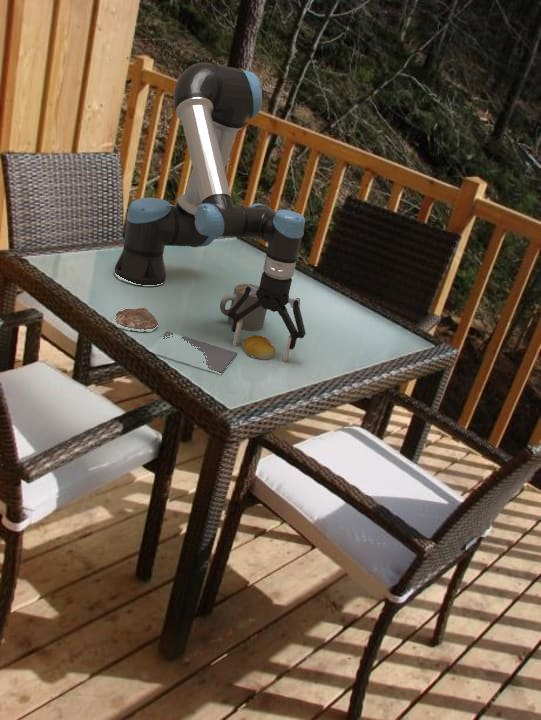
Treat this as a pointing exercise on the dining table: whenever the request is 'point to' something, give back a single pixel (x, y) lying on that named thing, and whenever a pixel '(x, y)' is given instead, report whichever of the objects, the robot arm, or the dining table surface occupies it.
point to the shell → (136, 319)
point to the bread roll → (259, 347)
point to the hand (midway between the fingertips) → (260, 351)
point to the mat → (211, 353)
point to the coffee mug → (252, 319)
